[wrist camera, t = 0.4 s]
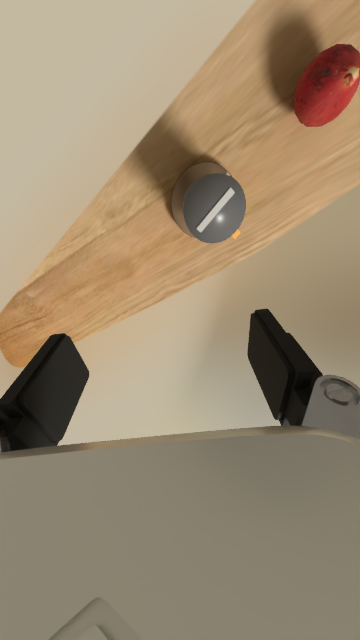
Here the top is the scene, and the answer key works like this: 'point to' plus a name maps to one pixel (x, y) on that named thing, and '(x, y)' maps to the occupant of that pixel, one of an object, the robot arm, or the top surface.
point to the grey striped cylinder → (214, 207)
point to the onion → (327, 85)
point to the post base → (184, 183)
